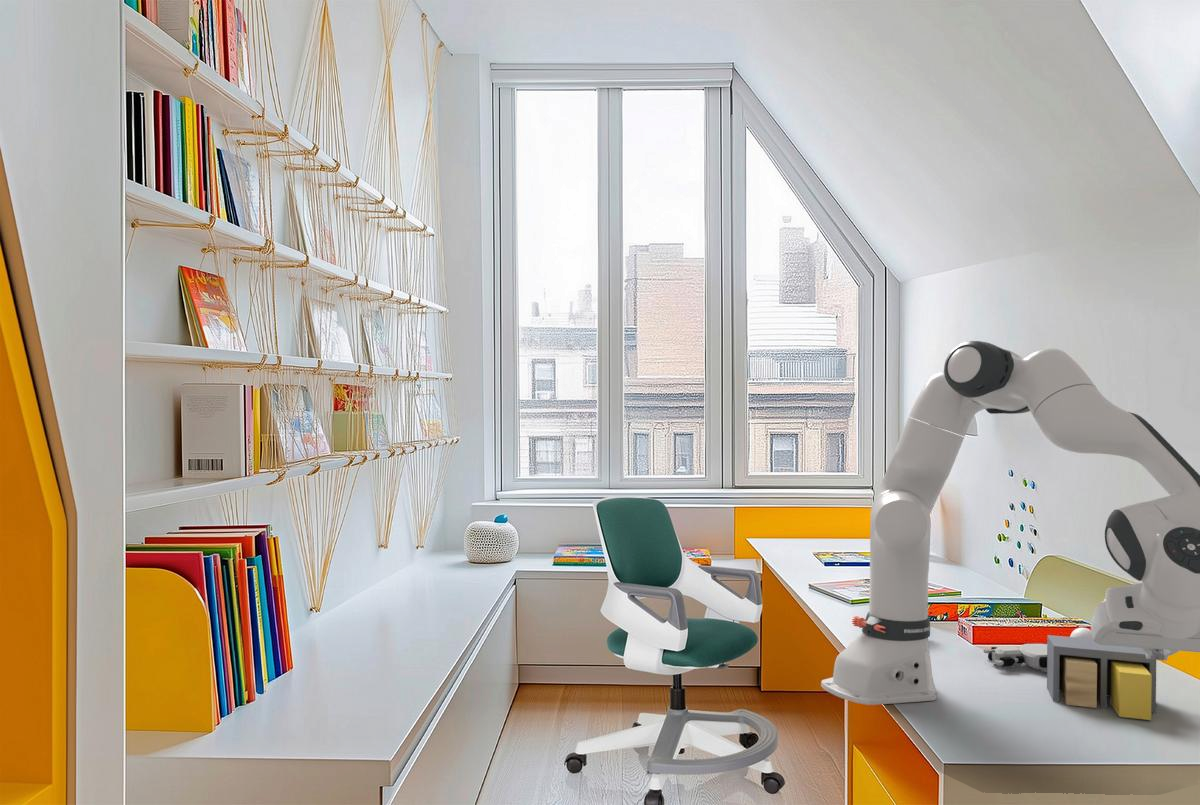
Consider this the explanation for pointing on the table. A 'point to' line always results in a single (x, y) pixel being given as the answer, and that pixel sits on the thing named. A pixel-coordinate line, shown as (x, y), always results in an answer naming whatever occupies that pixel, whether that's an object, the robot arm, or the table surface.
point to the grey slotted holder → (1102, 659)
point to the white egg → (1082, 633)
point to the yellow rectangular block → (1131, 690)
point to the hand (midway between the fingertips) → (1155, 656)
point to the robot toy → (1019, 656)
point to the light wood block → (1078, 680)
